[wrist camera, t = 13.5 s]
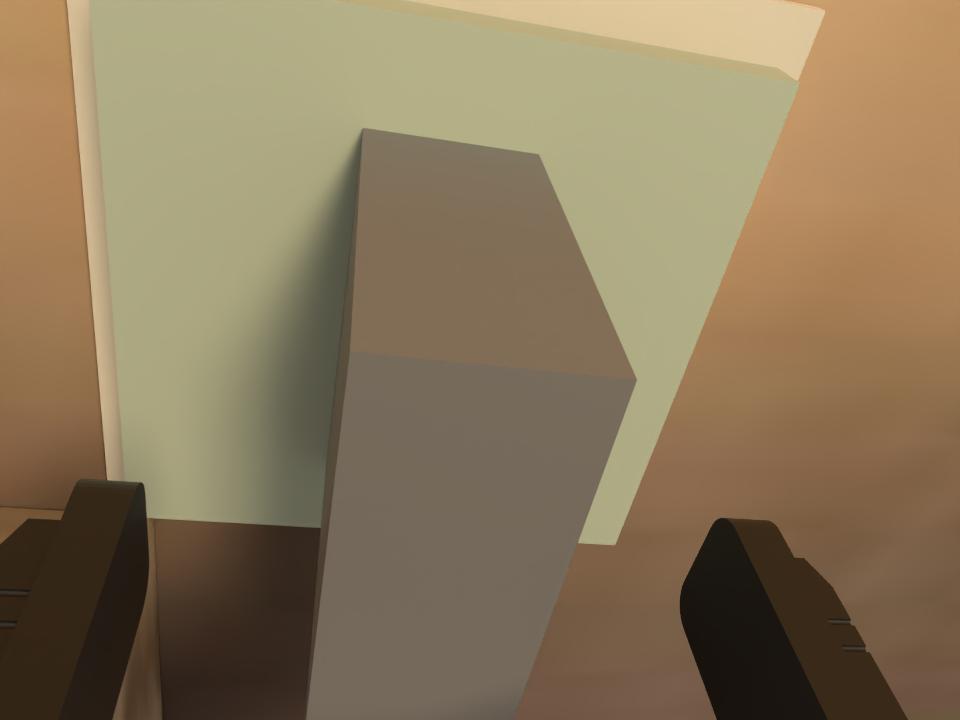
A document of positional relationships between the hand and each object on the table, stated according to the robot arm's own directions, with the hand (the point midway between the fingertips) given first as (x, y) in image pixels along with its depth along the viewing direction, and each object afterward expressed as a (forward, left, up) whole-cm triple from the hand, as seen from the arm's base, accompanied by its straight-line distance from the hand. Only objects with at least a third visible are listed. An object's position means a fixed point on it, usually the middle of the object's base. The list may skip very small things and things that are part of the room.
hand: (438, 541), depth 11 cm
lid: (0, 0, -8) cm, 8 cm away
